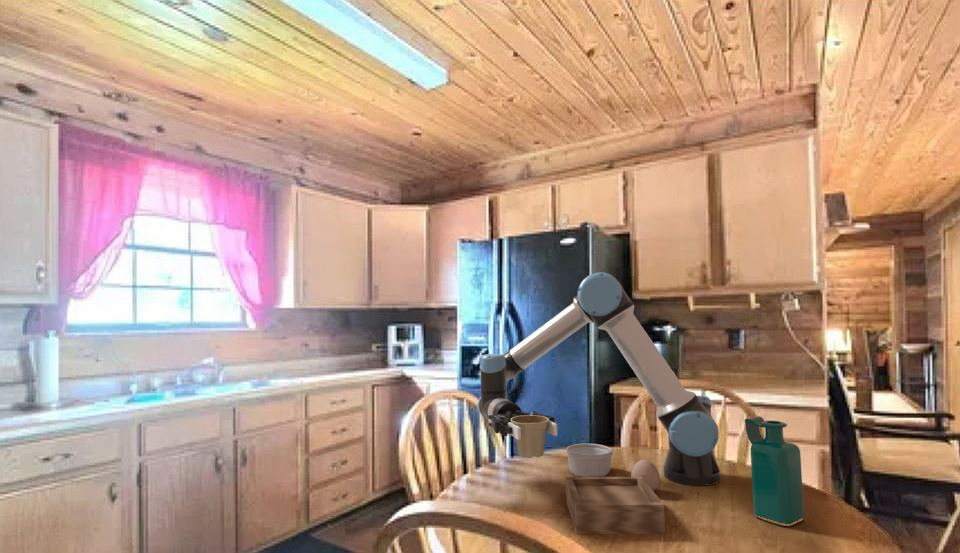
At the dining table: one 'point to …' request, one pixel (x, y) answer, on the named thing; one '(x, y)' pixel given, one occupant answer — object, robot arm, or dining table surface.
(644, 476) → the egg
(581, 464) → the ramekin
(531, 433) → the flower pot
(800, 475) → the teal bottle with handle
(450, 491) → the dining table surface
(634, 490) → the walnut open box
